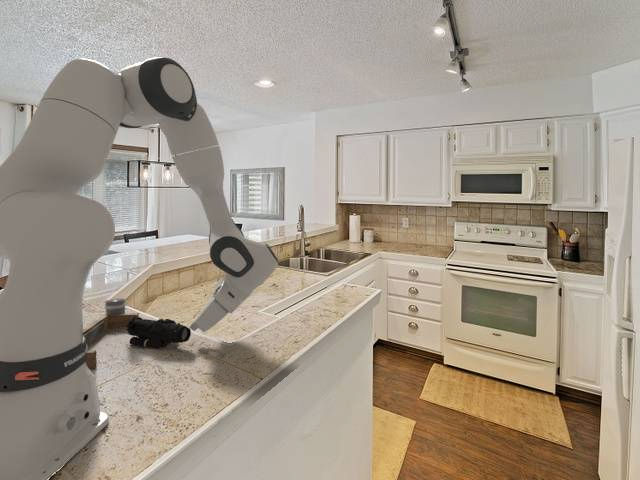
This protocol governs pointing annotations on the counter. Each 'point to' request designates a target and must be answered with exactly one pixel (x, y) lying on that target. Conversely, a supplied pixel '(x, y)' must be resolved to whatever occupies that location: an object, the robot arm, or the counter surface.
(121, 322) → the bracket
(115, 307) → the gray domed cylinder
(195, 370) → the counter surface
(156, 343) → the night vision scope
